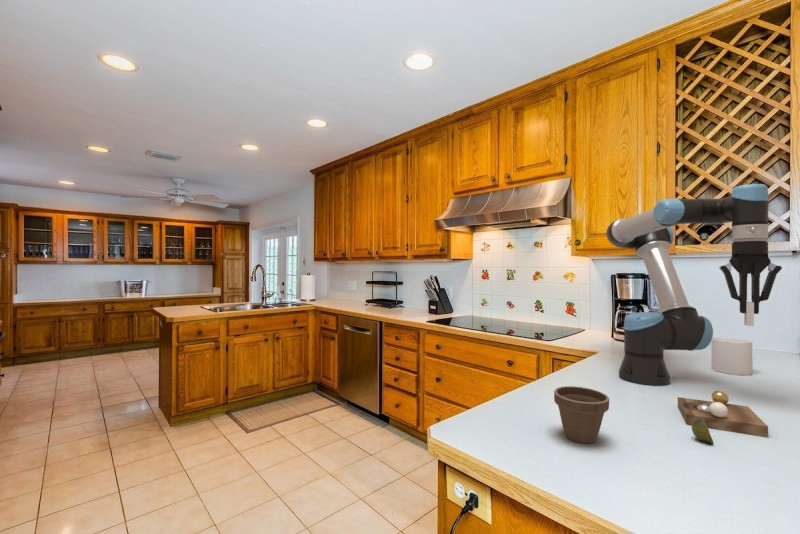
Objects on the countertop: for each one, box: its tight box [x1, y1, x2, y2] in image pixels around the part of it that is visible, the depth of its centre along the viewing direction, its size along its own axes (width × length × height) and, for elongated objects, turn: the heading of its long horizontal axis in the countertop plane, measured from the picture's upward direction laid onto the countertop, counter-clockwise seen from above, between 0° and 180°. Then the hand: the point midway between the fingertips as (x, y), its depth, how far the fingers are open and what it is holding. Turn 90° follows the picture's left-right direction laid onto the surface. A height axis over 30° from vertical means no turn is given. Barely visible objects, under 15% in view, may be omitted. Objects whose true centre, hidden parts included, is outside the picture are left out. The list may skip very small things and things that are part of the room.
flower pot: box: [553, 385, 610, 444], centre depth 87 cm, size 12×11×10 cm
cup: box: [711, 336, 754, 377], centre depth 145 cm, size 12×12×12 cm
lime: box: [691, 418, 714, 444], centre depth 85 cm, size 4×5×5 cm
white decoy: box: [709, 401, 728, 417], centre depth 93 cm, size 4×4×4 cm
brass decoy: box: [711, 390, 730, 404], centre depth 102 cm, size 4×4×4 cm
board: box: [677, 396, 769, 438], centre depth 97 cm, size 15×15×2 cm
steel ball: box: [696, 404, 710, 411], centre depth 99 cm, size 4×4×4 cm
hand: (749, 325), depth 107 cm, fingers closed
